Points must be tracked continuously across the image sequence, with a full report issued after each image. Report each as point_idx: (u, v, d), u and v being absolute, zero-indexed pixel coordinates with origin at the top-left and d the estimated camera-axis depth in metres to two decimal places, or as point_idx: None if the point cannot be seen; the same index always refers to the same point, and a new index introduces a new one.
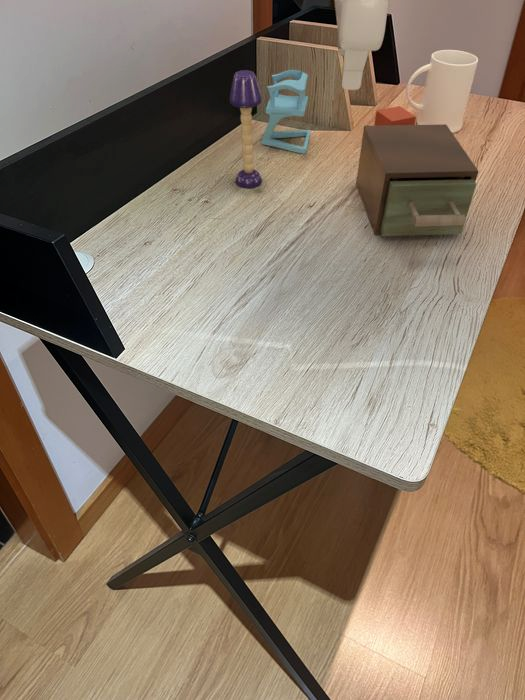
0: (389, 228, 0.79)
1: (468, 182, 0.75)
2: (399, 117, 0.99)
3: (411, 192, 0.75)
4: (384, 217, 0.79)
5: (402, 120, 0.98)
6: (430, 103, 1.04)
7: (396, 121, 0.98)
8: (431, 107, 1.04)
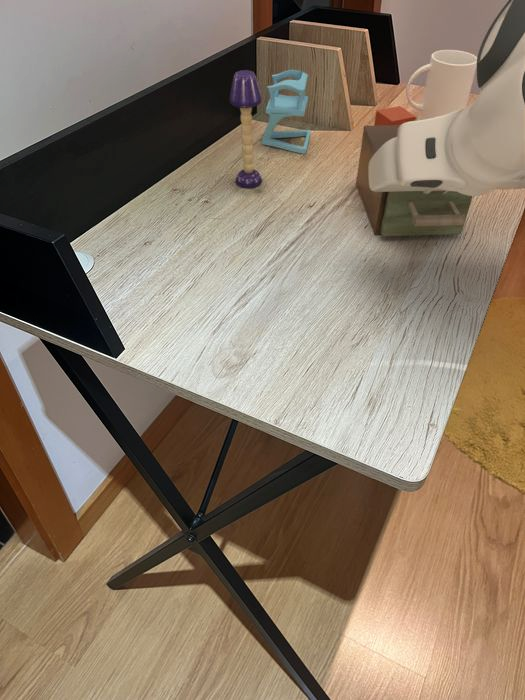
0: (389, 228, 0.79)
1: None
2: (399, 117, 0.99)
3: (411, 192, 0.75)
4: (384, 217, 0.79)
5: (402, 120, 0.98)
6: (430, 103, 1.04)
7: (396, 121, 0.98)
8: (431, 107, 1.04)
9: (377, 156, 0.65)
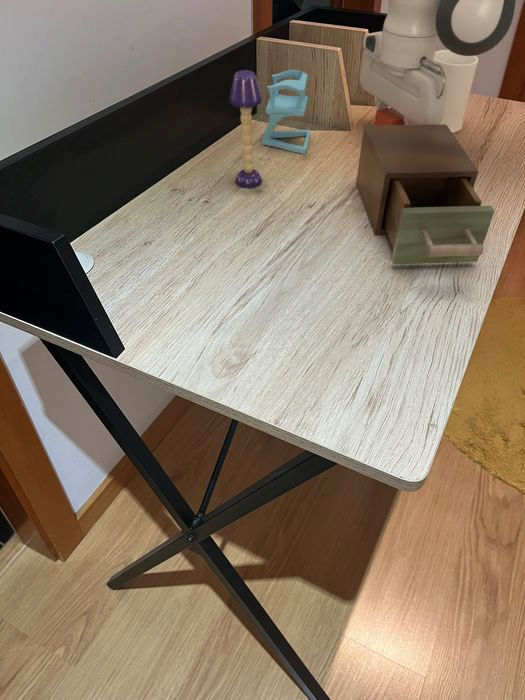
0: (401, 256, 0.75)
1: (486, 209, 0.71)
2: (399, 117, 0.99)
3: (425, 219, 0.71)
4: (395, 245, 0.74)
5: (402, 121, 0.98)
6: None
7: (396, 121, 0.98)
8: None
9: None
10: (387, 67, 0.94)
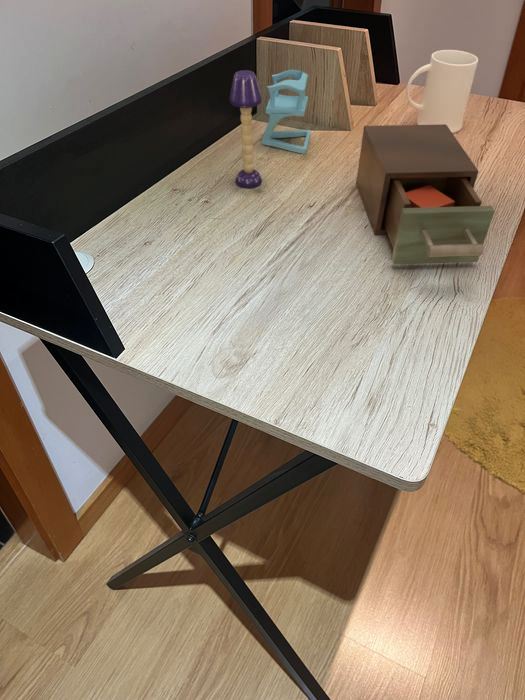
0: (401, 257, 0.74)
1: (486, 209, 0.71)
2: (434, 204, 0.75)
3: (425, 219, 0.71)
4: (395, 245, 0.74)
5: None
6: (430, 103, 1.04)
7: None
8: (431, 107, 1.04)
9: None
10: None
